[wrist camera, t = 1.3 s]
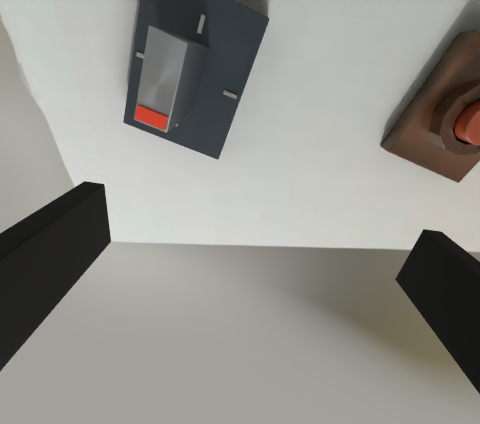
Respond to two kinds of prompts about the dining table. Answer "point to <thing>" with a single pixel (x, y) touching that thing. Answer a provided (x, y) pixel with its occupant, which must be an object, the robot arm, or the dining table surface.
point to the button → (469, 124)
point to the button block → (441, 113)
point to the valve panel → (216, 67)
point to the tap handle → (169, 78)
